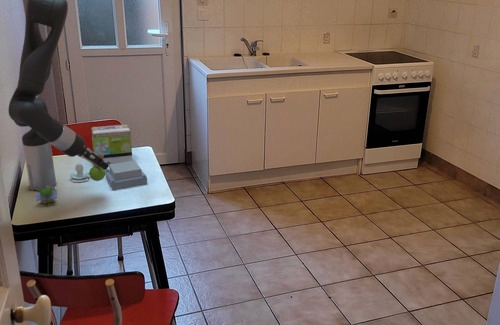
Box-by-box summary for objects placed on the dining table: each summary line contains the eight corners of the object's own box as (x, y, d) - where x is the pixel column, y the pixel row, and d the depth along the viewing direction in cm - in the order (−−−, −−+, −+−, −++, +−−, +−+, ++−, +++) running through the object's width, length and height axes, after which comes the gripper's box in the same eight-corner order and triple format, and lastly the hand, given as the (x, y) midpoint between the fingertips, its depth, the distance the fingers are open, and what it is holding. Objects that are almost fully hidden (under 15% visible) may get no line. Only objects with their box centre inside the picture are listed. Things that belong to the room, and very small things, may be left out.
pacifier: (89, 182, 187) (91, 176, 192) (87, 168, 184) (89, 161, 190) (69, 184, 186) (71, 177, 191) (66, 169, 183) (69, 162, 189)
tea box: (96, 168, 200) (92, 133, 195) (94, 159, 209) (90, 126, 204) (133, 163, 205) (130, 130, 200) (129, 155, 214) (127, 123, 209)
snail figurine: (99, 185, 168) (96, 153, 164) (86, 180, 171) (83, 148, 167) (111, 180, 172) (108, 148, 168) (98, 175, 176) (96, 144, 171)
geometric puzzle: (57, 203, 165) (55, 180, 167) (36, 205, 163) (33, 183, 165) (59, 207, 172) (56, 185, 174) (38, 210, 169) (36, 188, 171)
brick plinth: (112, 190, 180) (111, 175, 178) (105, 177, 191) (104, 163, 189) (147, 184, 185) (146, 169, 183) (138, 172, 196) (137, 158, 194)
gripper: (83, 136, 155) (119, 161, 167) (62, 125, 164) (97, 150, 176) (69, 155, 153) (106, 180, 166) (49, 144, 162) (85, 167, 175)
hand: (102, 164), depth 171 cm, fingers closed on snail figurine, 5 cm apart
